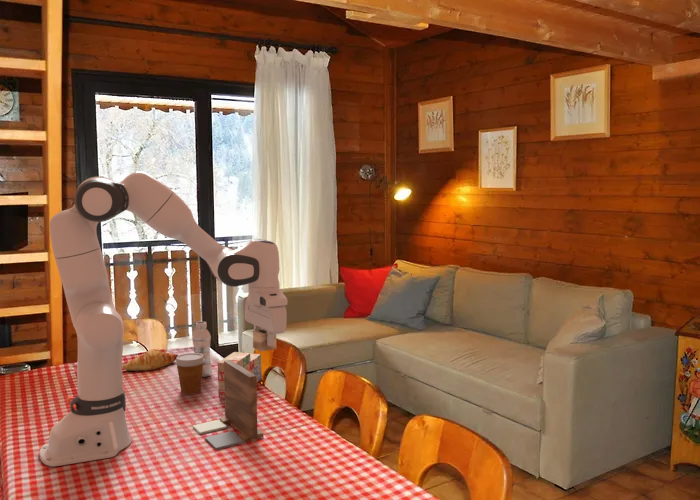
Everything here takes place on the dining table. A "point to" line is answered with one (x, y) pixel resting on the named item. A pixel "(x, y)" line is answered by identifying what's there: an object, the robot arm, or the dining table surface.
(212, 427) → the cream rectangular pad
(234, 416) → the walnut screen
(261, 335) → the marked cube
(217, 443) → the slate pad
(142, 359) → the croissant
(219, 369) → the stack of blocks
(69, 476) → the dining table surface
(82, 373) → the robot arm
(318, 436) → the dining table surface
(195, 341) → the plastic bottle
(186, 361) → the disposable coffee cup
